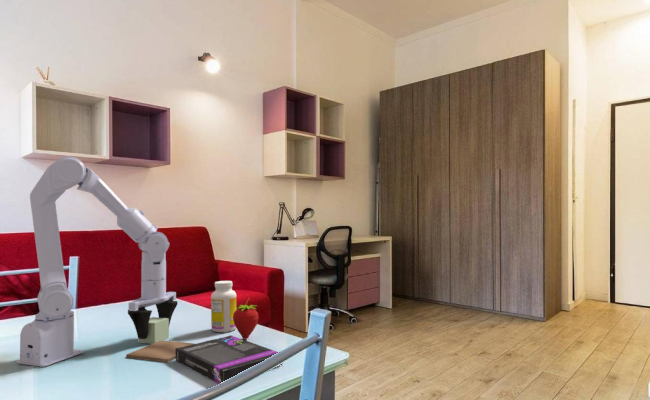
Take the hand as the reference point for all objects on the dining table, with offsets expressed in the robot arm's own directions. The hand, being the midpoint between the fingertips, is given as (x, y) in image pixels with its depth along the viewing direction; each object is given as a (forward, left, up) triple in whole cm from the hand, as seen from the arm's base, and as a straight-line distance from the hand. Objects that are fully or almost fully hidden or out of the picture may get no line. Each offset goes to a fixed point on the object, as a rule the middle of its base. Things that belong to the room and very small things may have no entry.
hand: (153, 334), depth 104 cm
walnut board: (-7, -9, -1) cm, 11 cm away
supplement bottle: (+13, -12, -2) cm, 18 cm away
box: (-9, -27, -2) cm, 29 cm away
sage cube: (0, 0, -2) cm, 2 cm away
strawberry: (+7, -22, -2) cm, 23 cm away
